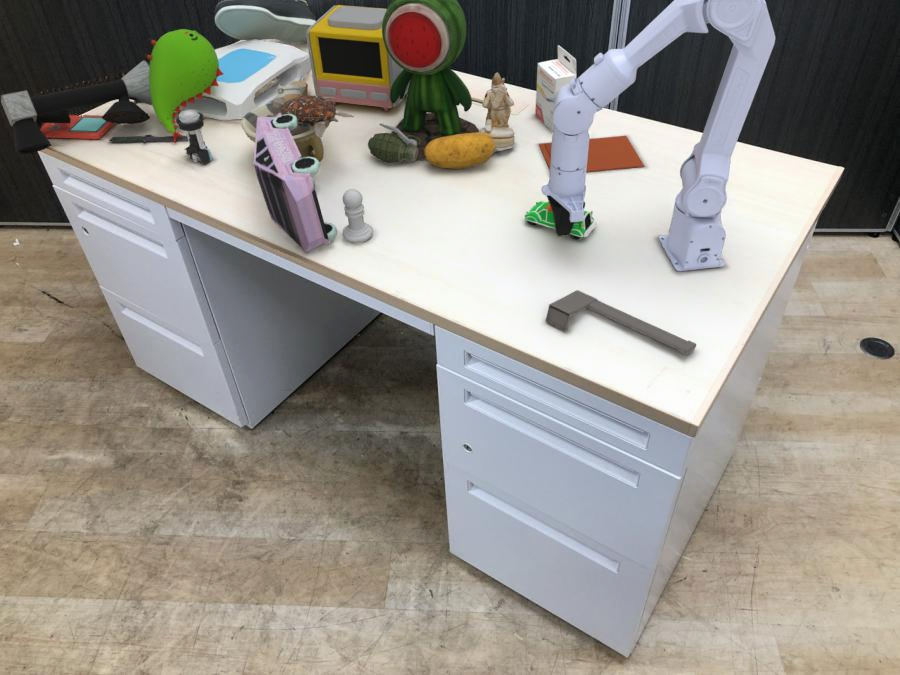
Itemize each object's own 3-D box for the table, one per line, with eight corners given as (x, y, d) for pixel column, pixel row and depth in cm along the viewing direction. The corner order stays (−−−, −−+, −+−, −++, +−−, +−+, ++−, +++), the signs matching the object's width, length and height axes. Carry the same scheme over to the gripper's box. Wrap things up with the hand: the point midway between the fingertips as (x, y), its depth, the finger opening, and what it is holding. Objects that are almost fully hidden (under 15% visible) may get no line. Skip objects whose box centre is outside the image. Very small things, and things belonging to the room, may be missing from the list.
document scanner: (167, 109, 172) (159, 82, 168) (242, 60, 190) (237, 35, 186) (243, 125, 165) (237, 98, 161) (314, 73, 183) (310, 47, 179)
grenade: (376, 114, 151) (424, 125, 149) (375, 148, 156) (421, 159, 154) (363, 126, 146) (412, 137, 144) (362, 161, 151) (410, 173, 149)
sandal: (260, 120, 167) (256, 98, 163) (288, 89, 178) (284, 68, 175) (289, 122, 166) (285, 100, 162) (315, 91, 177) (311, 69, 173)
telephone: (155, 132, 175) (14, 164, 161) (134, 77, 173) (-10, 105, 159) (168, 113, 162) (16, 146, 148) (146, 54, 160) (-11, 81, 146)
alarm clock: (314, 108, 170) (300, 24, 158) (342, 77, 181) (331, -3, 169) (397, 117, 166) (390, 31, 153) (420, 85, 177) (415, 3, 164)
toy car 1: (344, 247, 131) (288, 265, 129) (310, 176, 148) (260, 190, 146) (326, 174, 120) (264, 192, 119) (291, 106, 138) (237, 121, 136)
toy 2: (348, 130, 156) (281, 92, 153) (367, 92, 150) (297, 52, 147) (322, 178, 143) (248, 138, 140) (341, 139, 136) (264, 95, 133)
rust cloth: (644, 166, 148) (644, 164, 147) (552, 175, 146) (552, 172, 146) (625, 136, 156) (626, 134, 156) (538, 144, 155) (539, 142, 155)
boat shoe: (207, 34, 177) (193, -1, 178) (301, 53, 201) (288, 23, 202) (235, 4, 171) (221, -32, 172) (328, 28, 195) (315, -3, 196)
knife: (107, 141, 160) (111, 134, 162) (108, 145, 161) (112, 138, 163) (193, 139, 160) (196, 132, 162) (194, 142, 161) (197, 135, 163)
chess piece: (362, 246, 131) (356, 202, 125) (336, 238, 133) (329, 194, 127) (379, 230, 134) (374, 186, 128) (354, 223, 136) (347, 178, 130)
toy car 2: (597, 228, 133) (600, 207, 130) (585, 243, 130) (587, 222, 127) (535, 209, 138) (537, 189, 135) (522, 224, 135) (523, 203, 132)
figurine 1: (376, 155, 154) (358, -1, 134) (410, 112, 168) (399, -35, 148) (457, 165, 149) (452, 6, 129) (485, 120, 163) (485, -30, 143)
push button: (177, 160, 155) (163, 114, 148) (196, 149, 158) (184, 103, 152) (201, 168, 152) (187, 122, 146) (220, 157, 156) (208, 111, 149)
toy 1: (168, 30, 164) (238, 48, 165) (146, 137, 166) (215, 155, 167) (147, 11, 151) (223, 30, 152) (124, 128, 154) (198, 146, 155)
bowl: (358, 154, 154) (352, 109, 148) (291, 193, 144) (282, 147, 138) (298, 129, 163) (291, 86, 156) (231, 164, 153) (220, 120, 146)
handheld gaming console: (53, 113, 170) (117, 114, 168) (55, 118, 171) (118, 120, 169) (31, 132, 163) (97, 134, 162) (33, 137, 164) (99, 139, 162)
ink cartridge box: (533, 115, 164) (536, 47, 154) (554, 111, 166) (558, 43, 156) (552, 133, 158) (556, 63, 148) (573, 128, 160) (579, 59, 150)
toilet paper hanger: (691, 359, 111) (697, 342, 109) (665, 380, 105) (671, 362, 104) (575, 305, 121) (578, 289, 120) (545, 321, 115) (549, 304, 114)
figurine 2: (506, 145, 159) (508, 69, 152) (520, 152, 153) (523, 73, 146) (473, 147, 157) (474, 70, 150) (485, 154, 151) (487, 74, 144)
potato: (497, 172, 147) (493, 140, 142) (426, 179, 148) (420, 148, 144) (496, 152, 152) (493, 120, 148) (428, 158, 154) (423, 128, 149)
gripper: (534, 142, 125) (530, 212, 135) (554, 189, 115) (549, 261, 124) (576, 138, 126) (570, 208, 135) (600, 184, 115) (591, 257, 124)
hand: (562, 233), depth 130 cm, fingers closed
